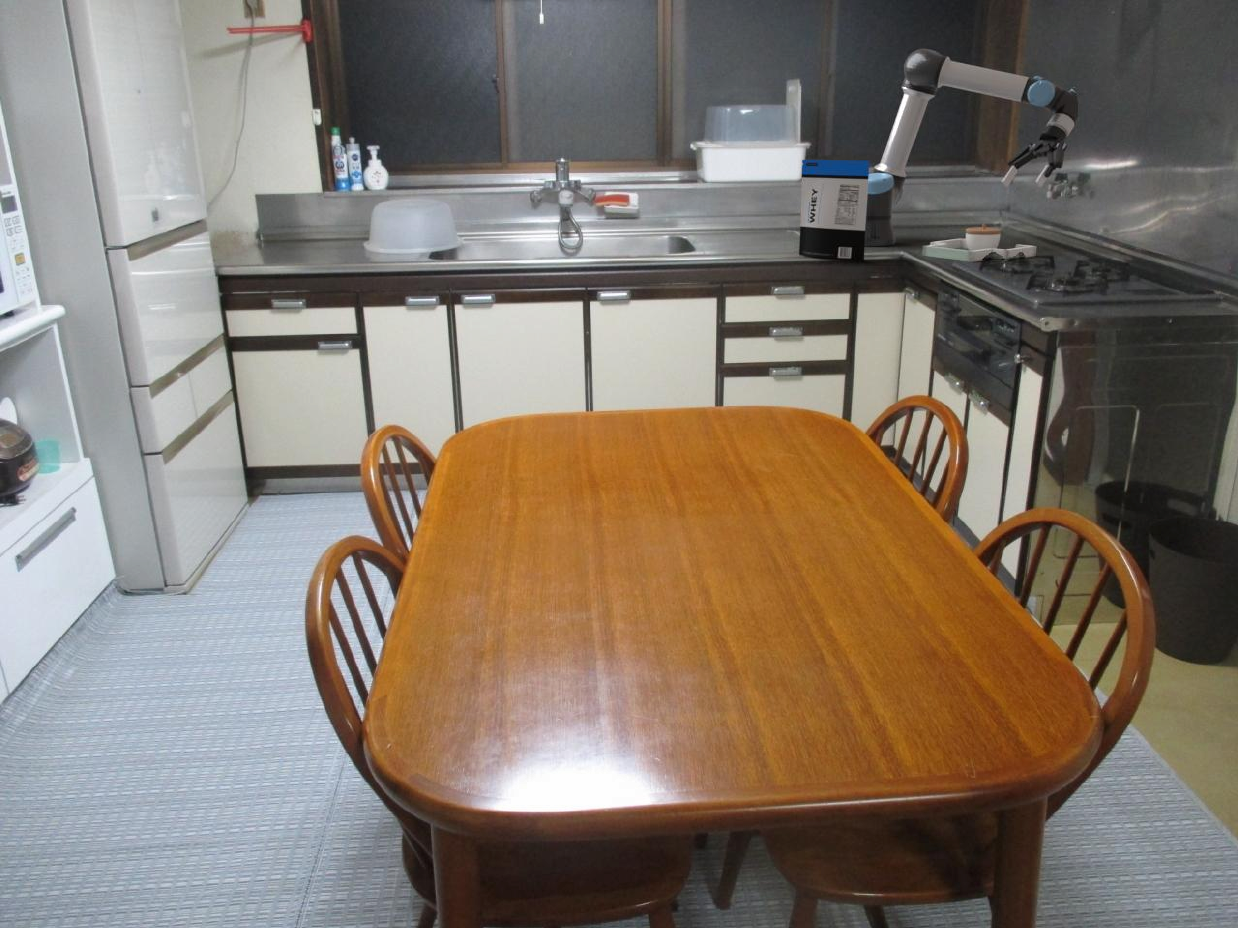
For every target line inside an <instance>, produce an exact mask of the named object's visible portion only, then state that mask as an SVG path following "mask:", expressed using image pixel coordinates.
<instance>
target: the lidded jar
mask: <svg viewBox="0 0 1238 928" xmlns="http://www.w3.org/2000/svg"><path fill="white" fill-rule="evenodd" d="M981 225H982V226H981V227H968V228H966V229H965V239H966V245H967V248H968V249H969V250H968V251H974V250H981V249H989V248H994V249H998V247H999V244H1000V241H1001V235H1002V229H1001V228H997V227H987V225H986V223H982V224H981Z"/></svg>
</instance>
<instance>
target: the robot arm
mask: <svg viewBox="0 0 1238 928" xmlns="http://www.w3.org/2000/svg"><path fill="white" fill-rule="evenodd" d="M903 73H904V79H903V82H902V85H901V89H902V91H903V97H902V99H901V101H900V105H899V108H898V111H897V112H896V113H897V114H896V117H895V120H894V123H893V126H892V128H891V131H890V133H889V137H888V140H887V142H886V146H885V149H884V151H883V154H882V158H881V160H880V163H878V164H876V165H875V166H874V167H873V170H872V173H869V177H868V195H867V210H866V224H865V245H864V247H887V246H893V245H896V244H895V243H896V236H895V234H894V227H893V224H892V212H893V207H894V206H896V205H897V204H898V203H899V202H900V200H901V199H902V196H903V192H904V190H903V188H904V187H903V186H904V184H905V181H906V178H907V176H908V175H907V174H906V172H905V168H906V167H907V166H906V165H907V163H908V160H909V157H910V153H911V151H912V148H913V146H914V142H915V139H916V137H917V134H918V132H919V129H920V127H921V123H922V120H923V118H924V115H925V112H926V110H927V106H928V103H929V101H930V100H932V99H933V98H935V97H936V94H937V91H938V89H941V88H942V87H943V86H944V87H950V88H954V89H959V90H964V91H969V92H973V93H977V94H982V95H986V96H991V97H996V98H1001V99H1005V100H1011V101H1013V102H1015V101H1016V102H1019V103H1024V104H1028V105H1033V106H1035V107H1038V108H1039V107H1041V108H1044V109H1045V110H1047V111H1049V112H1050V113H1053V115H1051V117H1050V119H1049V121H1048V122H1047V124H1046V126H1045V127H1044V128H1043V129H1042V131H1041V133H1040V134H1039V140H1038V141H1037V142H1036V143H1033V142H1032V141H1029V142H1028V144H1026V146H1025V147H1024V148H1023V149H1021V150H1020V151H1019V152H1018V153H1017V154H1016V155H1015V156H1013V157H1011V159H1010V160H1008V162H1007V166H1008V167H1009V168H1008V170H1007V172H1006V173H1005V176H1004V177H1003V179H1001V183H1002V184H1003V186H1004V187H1005V188H1008V187H1009V185H1010V183H1012V181H1013V180H1014V178H1015V176H1016V175H1017V174H1018V171H1019V169H1020V168H1022V167H1023V166H1025V165H1026V164H1027V163H1029V162H1030V161H1032V160H1036V159H1038V158H1042V157H1044V158H1046V157H1047V161H1048V164H1046V165H1045V166H1044V168H1043V169H1042V171H1041V172H1040V174H1039V175H1038V176H1037V178H1036V179H1035V184H1036V185H1037V186H1038V187H1039V188H1042V186H1043V185H1044V184H1045V183H1046V181H1047V180H1048V178H1050V176H1051V175H1052V174H1053V172H1054V171H1055V170H1057V169H1062V168H1063V164H1064V157H1065V152H1066V149H1067V147H1068V146H1067V144H1066V143H1065V141H1066V139H1067V137H1068V136H1069V135H1070V133H1071V132H1072V130H1073V128H1074V127H1075V125H1076V124H1077V123H1076V121H1077V118H1078V101H1077V96H1076V92H1075V91H1074V90H1073V89H1072V88H1071V89H1070V90H1066V89H1064V88H1062V87H1060V86H1058V85H1057V84H1055V83H1053V82H1051V81H1049V80H1048V79H1046V78H1044V77H1041V76H1039V75H1035V76H1033V77H1028V76H1024V75H1021V74H1020V75H1018V74H1014V73H1009V72H1006V71H1005V72H1004V71H1002V70H1001V71H1000V70H996V69H991V68H986V67H981V66H976V65H972V64H968V63H967V64H966V63H962V62H959V61H958V62H957V61H953V60H951V59H950V57H949V56H946V55H942V54H941V53H940V52H938V51H936V50H933V49H928V48H919V49H917V50H915V51H912V52H911V54H909V55H908V56H907V58H906V60H905V62H904V65H903ZM1077 122H1078V121H1077ZM1055 151H1056V154H1055V153H1054V152H1055Z"/></svg>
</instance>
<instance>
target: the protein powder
mask: <svg viewBox="0 0 1238 928" xmlns="http://www.w3.org/2000/svg"><path fill="white" fill-rule="evenodd" d="M801 163H802V165H801V185H800V186H801V187H800V189H801V191H800V225H799V227H800V228H799V248H798V255H799V256H803V257H804V258H805V257H806V258H810V259H813V260H814V259H815V260H816V259H817V260H823V261H825V260H826V261H827V260H828V261H848V262H849V261H852V262H853V261H857V262H858V261H861V262H862V261H863V262H864V260H865V246H864V245H865V224H866V210H867V195H868V177H869V174H870V166H869V165H870V160H837V159H836V160H835V159H833V160H832V159H801Z"/></svg>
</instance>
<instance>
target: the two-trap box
mask: <svg viewBox="0 0 1238 928" xmlns="http://www.w3.org/2000/svg"><path fill="white" fill-rule="evenodd" d="M991 252H996V253H997V254H999V255H1001V256H1003V258H1005V259H1006V258H1009V257H1013V256H1016V255H1017V254H1018V253H1019V252H1023V253H1024V255H1025V256H1026V257H1025V258H1031V257H1036V254H1037V246H1036V245H1030V244H1029V245H1028V244H1020V243H1019V244H1015V247H1014V248H1006V249H1002V248H996V249H994V248H989V249H981V250H974V251H969V249H968V248H967V245H966V238H961V237H960V238H953V239H947V240H938V241H937V240H936V241H931V242H930V244H929V245H922V254H921V256H923V257H929V258H930V257H931V258H937V259H945V260H946V259H947V260H954V261H962V262H971V263H972V262H979V261H983V260H982V259H983V258H984V257H985V256H986V255H988V254H989V253H991Z"/></svg>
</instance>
